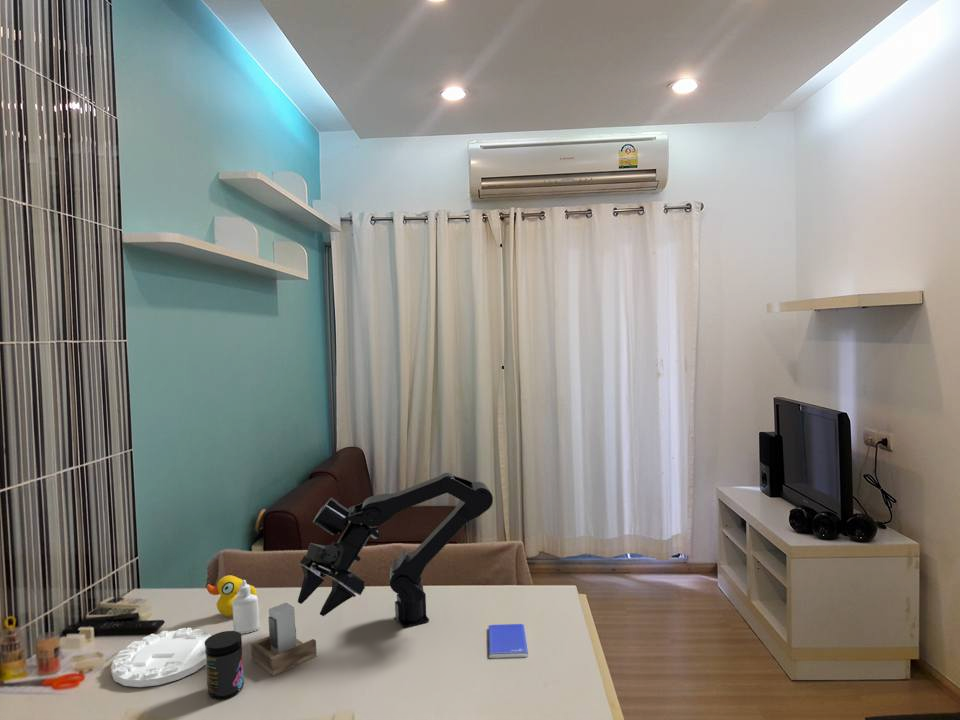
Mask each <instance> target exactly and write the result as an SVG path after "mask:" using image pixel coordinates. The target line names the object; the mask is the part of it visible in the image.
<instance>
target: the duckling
mask: <svg viewBox="0 0 960 720" xmlns="http://www.w3.org/2000/svg"><path fill="white" fill-rule="evenodd" d="M243 580H244V579H242V578H239V577H237V576H234V575H232V574H231V575H225V576H222V577H221V578H220V579H219V580H218V582H217V586H215V585H211V584H210V583H208V584H207V585H206V590H207V592H208V593H209V594H210V595H212V596H217V595H220V597H219V598H218V599H217V602H216V609H217V610H218V612H219V613H220V614H221V615H223V616H225V617H228V618H233V606H232V604H233V600H234V599H235V598H236V597H238V596H239V595H237V594H239V587H240V586H241V585H242V581H243ZM249 585H250V594H253V595H256V596H257V597H258V591H257V589H256V588H255V586H254V585H251V584H249Z"/></svg>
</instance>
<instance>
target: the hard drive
mask: <svg viewBox="0 0 960 720" xmlns="http://www.w3.org/2000/svg"><path fill="white" fill-rule="evenodd" d="M525 630H526V629H525V624H523V623H515V624H514V623H509V624H507V623H506V624H489V625H488V648H489V651H488V652H489V653H488V654H489V655H488V656H489V659H495V658H497V659H499V658H526V657H527V658H528V657H529V649H528V643H527V636H526V631H525Z"/></svg>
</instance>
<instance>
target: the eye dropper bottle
mask: <svg viewBox="0 0 960 720" xmlns="http://www.w3.org/2000/svg"><path fill="white" fill-rule="evenodd" d="M242 580H243V581H242V585H241V586H240V587H239V592H238V595H237V596H238V597H236V598H235V599H234V600H233V604H232V606H233V616H232V621H233V622H232V623H233V631H237V632H239V633H241V635H243V634H244V633H246V634H250V633H249V632H251V633H254V632H256V630H257V631H258V630H259V629H260V611H259V598H258V597H259V596H258V595H257V596H256V595H253V594H250V585H251V584H248V583H247V581H246V579H242ZM253 631H254V632H253ZM244 635H245V634H244Z"/></svg>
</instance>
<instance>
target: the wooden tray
mask: <svg viewBox="0 0 960 720" xmlns="http://www.w3.org/2000/svg"><path fill="white" fill-rule="evenodd" d="M296 628H297V627H295V632H296V633H297V629H296ZM250 651H251V652H250V653H251V660H252V661H253V662H254V661H255V662H254V663H256V664H257V665H258V666H259V665H260V666H259V667H261V668H262V669H263V670H265V671H266V672H269V674H270V675H271V676H272V675H273V676H272V677H275V676H277V675H279V674H281V673H283V672H285V671H287V670H286V669H288V668H290V667H292V666H294V665H296V666H298V665H297V664H299V663H301V662H303V661H305V662H307V661H310V660H312V659H314V658H316V657H317V640H315V639H314V638H313V639H310V640H308V641H305V642H302V641H301V640H299V639H298V638H296V647H294V648H291V649H289V650H287V651H284V652H282V653H280V654H277V655H275V656H274V655H273V654H271V645H270V637H269V636H266V637H264V638H261V639H259V640H256V641H254V642H251V643H250ZM313 657H314V658H313ZM311 658H312V659H311ZM309 659H310V660H309ZM306 660H307V661H306ZM303 663H304V662H303ZM301 664H302V663H301ZM299 665H300V664H299ZM294 667H295V666H294ZM292 668H293V667H292ZM290 669H291V668H290ZM284 670H285V671H284ZM288 670H289V669H288ZM282 671H283V672H282ZM280 672H281V673H280ZM278 673H279V674H278ZM276 674H277V675H276Z"/></svg>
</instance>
